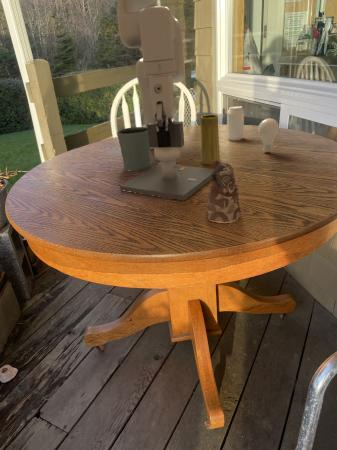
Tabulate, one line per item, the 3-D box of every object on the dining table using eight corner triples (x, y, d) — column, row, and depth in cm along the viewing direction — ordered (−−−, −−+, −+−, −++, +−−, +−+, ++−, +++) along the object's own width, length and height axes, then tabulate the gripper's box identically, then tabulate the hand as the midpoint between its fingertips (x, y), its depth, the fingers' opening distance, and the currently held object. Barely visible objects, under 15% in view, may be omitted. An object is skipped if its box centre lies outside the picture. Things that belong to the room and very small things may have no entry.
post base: (120, 190, 88) (116, 166, 85) (160, 168, 103) (157, 146, 99) (183, 201, 78) (181, 173, 75) (217, 174, 93) (217, 150, 89)
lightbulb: (275, 149, 109) (277, 115, 104) (279, 154, 103) (281, 119, 98) (256, 150, 110) (257, 117, 105) (258, 156, 104) (260, 121, 99)
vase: (224, 160, 103) (223, 114, 97) (212, 166, 100) (211, 118, 93) (208, 158, 107) (207, 113, 100) (197, 163, 103) (194, 117, 97)
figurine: (217, 227, 65) (215, 171, 59) (200, 214, 71) (197, 161, 65) (246, 218, 67) (248, 163, 62) (228, 206, 73) (228, 155, 68)
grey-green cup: (116, 169, 106) (110, 132, 100) (139, 160, 112) (134, 125, 107) (137, 174, 100) (131, 135, 94) (159, 164, 106) (155, 127, 100)
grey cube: (179, 161, 83) (177, 125, 78) (147, 160, 86) (143, 126, 81) (189, 151, 90) (186, 118, 85) (159, 151, 93) (155, 119, 88)
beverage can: (227, 137, 129) (227, 106, 124) (243, 136, 128) (243, 105, 122) (227, 141, 124) (227, 109, 118) (244, 140, 123) (244, 107, 117)
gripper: (171, 69, 69) (177, 151, 77) (178, 66, 84) (183, 134, 92) (136, 73, 70) (146, 153, 78) (150, 68, 85) (157, 136, 93)
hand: (166, 142), depth 85 cm, fingers open, 7 cm apart
